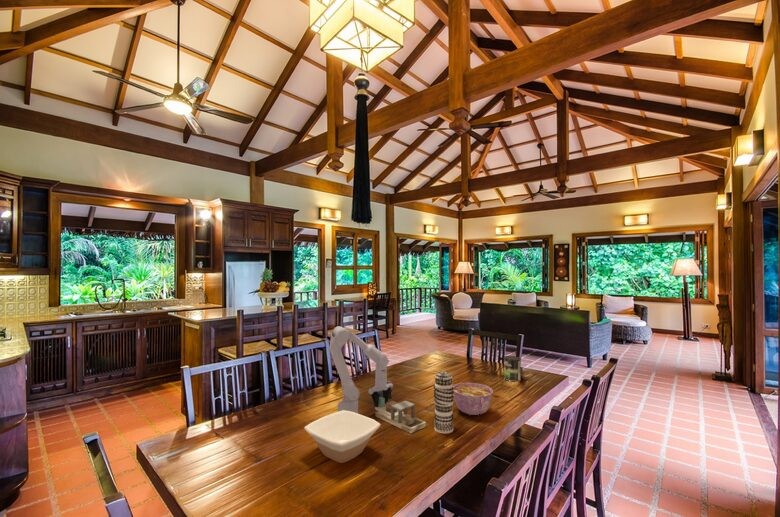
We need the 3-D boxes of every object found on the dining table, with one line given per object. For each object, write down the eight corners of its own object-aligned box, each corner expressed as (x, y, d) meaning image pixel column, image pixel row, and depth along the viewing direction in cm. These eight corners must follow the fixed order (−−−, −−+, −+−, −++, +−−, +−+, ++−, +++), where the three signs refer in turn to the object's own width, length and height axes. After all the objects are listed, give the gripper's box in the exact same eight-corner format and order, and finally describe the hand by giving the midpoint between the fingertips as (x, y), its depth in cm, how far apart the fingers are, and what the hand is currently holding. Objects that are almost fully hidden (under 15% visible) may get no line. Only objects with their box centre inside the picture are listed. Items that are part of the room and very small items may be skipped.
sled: (394, 418, 165) (394, 407, 165) (374, 409, 175) (374, 398, 175) (403, 414, 169) (403, 403, 169) (384, 405, 179) (384, 395, 180)
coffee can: (512, 382, 222) (511, 360, 222) (500, 378, 231) (500, 356, 231) (524, 380, 226) (524, 358, 226) (512, 376, 235) (512, 355, 236)
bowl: (343, 432, 155) (343, 407, 156) (386, 450, 140) (386, 423, 140) (298, 454, 137) (298, 426, 137) (341, 478, 122) (342, 447, 122)
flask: (375, 396, 199) (375, 377, 199) (377, 394, 201) (377, 375, 201) (390, 398, 195) (390, 379, 195) (392, 397, 197) (392, 377, 198)
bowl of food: (495, 422, 165) (494, 397, 165) (451, 419, 169) (451, 394, 169) (491, 406, 184) (491, 384, 185) (452, 403, 188) (452, 381, 189)
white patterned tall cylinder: (438, 435, 153) (438, 377, 153) (430, 425, 162) (430, 371, 162) (457, 432, 155) (457, 375, 156) (448, 423, 164) (448, 369, 165)
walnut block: (391, 413, 168) (391, 405, 168) (386, 411, 171) (386, 402, 171) (397, 411, 171) (397, 402, 171) (392, 408, 173) (392, 400, 174)
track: (410, 433, 154) (410, 414, 154) (375, 416, 172) (375, 399, 172) (426, 426, 161) (426, 408, 161) (390, 410, 179) (390, 394, 179)
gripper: (375, 382, 169) (374, 411, 169) (397, 376, 179) (397, 403, 179) (365, 379, 174) (365, 407, 174) (387, 373, 184) (387, 399, 184)
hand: (381, 405), depth 177 cm, fingers open, 5 cm apart
